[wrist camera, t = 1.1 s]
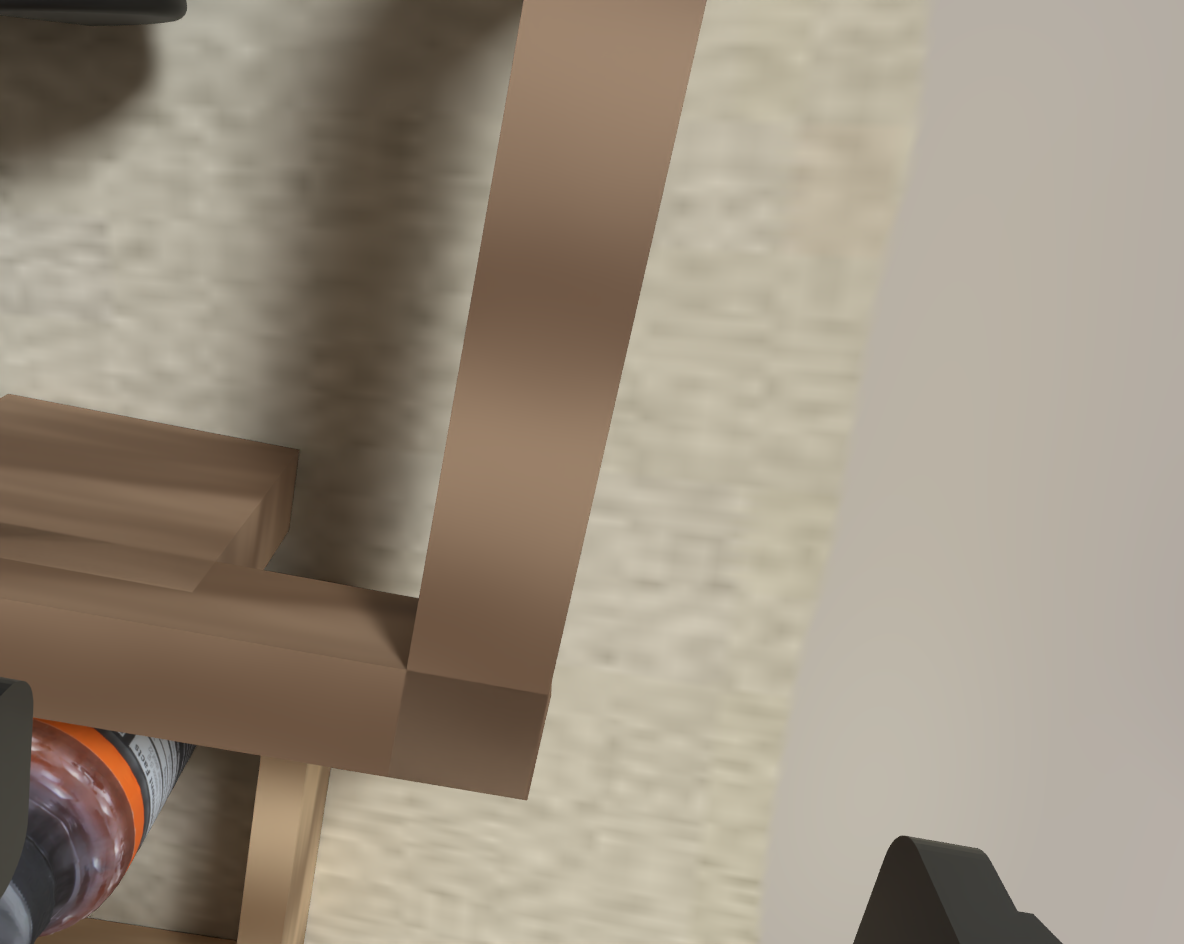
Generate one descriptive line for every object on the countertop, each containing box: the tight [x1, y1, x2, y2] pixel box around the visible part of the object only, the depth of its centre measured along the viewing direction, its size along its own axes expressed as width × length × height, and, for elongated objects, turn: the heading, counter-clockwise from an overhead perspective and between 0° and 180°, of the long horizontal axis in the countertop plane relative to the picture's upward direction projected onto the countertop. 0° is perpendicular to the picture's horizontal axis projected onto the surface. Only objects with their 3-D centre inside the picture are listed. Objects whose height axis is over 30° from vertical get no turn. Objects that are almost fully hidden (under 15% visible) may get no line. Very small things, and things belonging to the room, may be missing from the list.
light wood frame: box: [34, 756, 331, 944], centre depth 31 cm, size 15×12×5 cm
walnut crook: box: [0, 0, 707, 800], centre depth 23 cm, size 21×15×10 cm
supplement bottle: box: [0, 717, 197, 944], centre depth 27 cm, size 6×6×11 cm
